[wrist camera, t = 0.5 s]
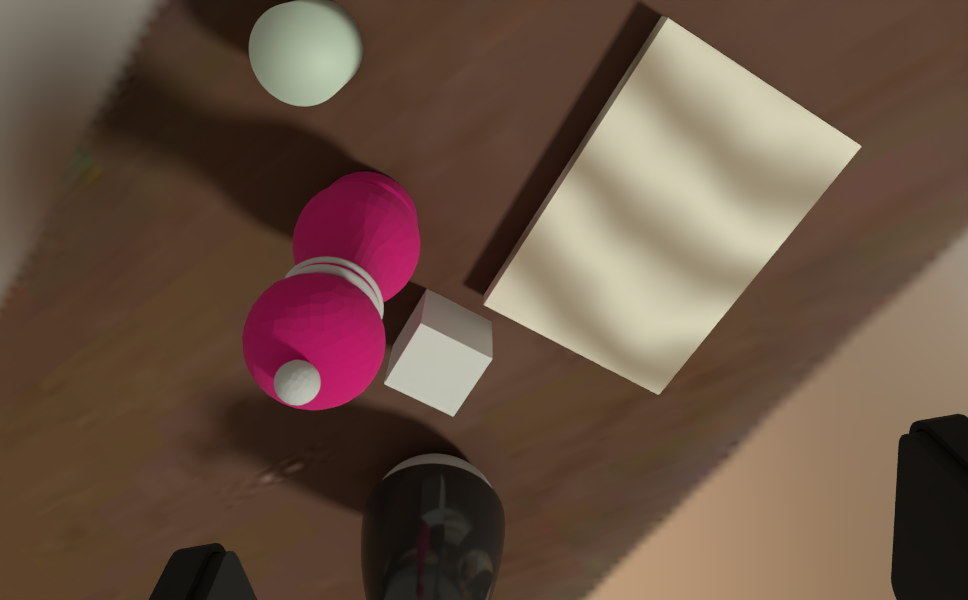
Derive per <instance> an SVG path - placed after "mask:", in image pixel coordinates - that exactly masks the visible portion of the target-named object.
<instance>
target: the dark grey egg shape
mask: <svg viewBox="0 0 968 600" xmlns="http://www.w3.org/2000/svg"><path fill="white" fill-rule="evenodd" d="M504 538H505V515H504V510H503V506H502V503H501V501H500V499H499V497H498V495H497V494H496V492H495V491H494V490H493V489H492V487H491V485H490V483H489V482H488V480H487V479H486V478H485V476H484V475H483V474H482V473H481V472H480V471H479V470H478V469H477V468H475V467H474V466H473V465H471V464H470V463H468V462H466V461H464V460H462V459H460V458H457V457H454V456H451V455H446V454H424V455H419V456H415V457H412V458H410V459H407V460H405V461H403V462H402V463H400V464H398V465H397V466H396V467H394V468H393V469H392V470H391V471H390V472H389V473H388V474H387V475H386V476H385V477H384V478H383V479H382V481H380V482H379V483H378V484H377V485H376V487H375V488H374V489H373V490H372V492H371V493H370V495H369V497H368V499H367V502H366V505H365V508H364V513H363V519H362V528H361V567H362V577H363V585H364V591H365V596H366V600H491V597H492V594H493V591H494V588H495V585H496V581H497V577H498V573H499V569H500V564H501V559H502V553H503V546H504Z"/></svg>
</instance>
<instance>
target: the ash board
mask: <svg viewBox="0 0 968 600" xmlns="http://www.w3.org/2000/svg"><path fill="white" fill-rule="evenodd" d="M860 147H861V146H860V145H859V144H857V143H856V142H854V141H853V140H851V139H850V138H848V137H847V136H845V135H844V134H842V133H841V132H839V131H838V130H836V129H835V128H833V127H832V126H830V125H829V124H827V123H826V122H824V121H823V120H821V119H820V118H818V117H817V116H815V115H814V114H812V113H811V112H809V111H808V110H806V109H805V108H803V107H802V106H800V105H799V104H797V103H796V102H794V101H793V100H791V99H790V98H788V97H787V96H785V95H783V94H782V93H780V92H779V91H777V90H776V89H774V88H773V87H771V86H770V85H768V84H767V83H765V82H764V81H762V80H761V79H759V78H758V77H756V76H755V75H753V74H752V73H750V72H749V71H747V70H746V69H744V68H743V67H741V66H740V65H738V64H737V63H735V62H734V61H732V60H731V59H729V58H728V57H726V56H725V55H723V54H722V53H720V52H719V51H717V50H716V49H714V48H713V47H711V46H710V45H708V44H707V43H705V42H704V41H702V40H701V39H699V38H698V37H696V36H695V35H693V34H692V33H690V32H689V31H687V30H685V29H684V28H682V27H681V26H679V25H678V24H676V23H675V22H673V21H672V20H670V19H669V18H667V17H664V16H661V18H660V19H659V21H658V22H657V24H656V26H655V27H654V29H653V30H652V32H651V33H650V35H649V37H648V38H647V40H646V41H645V43H644V44H643V46H642V47H641V49H640V51H639V52H638V54H637V55H636V57H635V58H634V60H633V62H632V63H631V65H630V66H629V68H628V69H627V71H626V73H625V74H624V76H623V77H622V79H621V80H620V82H619V84H618V85H617V87H616V88H615V90H614V91H613V93H612V94H611V96H610V98H609V99H608V101H607V102H606V104H605V105H604V107H603V109H602V110H601V112H600V113H599V115H598V116H597V118H596V120H595V121H594V123H593V124H592V126H591V127H590V129H589V131H588V132H587V134H586V135H585V137H584V138H583V140H582V141H581V143H580V145H579V146H578V148H577V149H576V151H575V152H574V154H573V156H572V157H571V159H570V160H569V162H568V163H567V165H566V167H565V168H564V170H563V171H562V173H561V174H560V176H559V178H558V179H557V181H556V182H555V184H554V185H553V187H552V188H551V190H550V192H549V193H548V195H547V196H546V198H545V199H544V201H543V203H542V204H541V206H540V207H539V209H538V210H537V212H536V214H535V215H534V217H533V218H532V220H531V221H530V223H529V225H528V226H527V228H526V229H525V231H524V232H523V234H522V236H521V237H520V239H519V240H518V242H517V243H516V245H515V246H514V248H513V250H512V251H511V253H510V254H509V256H508V257H507V259H506V261H505V262H504V264H503V265H502V267H501V268H500V270H499V272H498V273H497V275H496V276H495V278H494V279H493V281H492V283H491V284H490V286H489V287H488V289H487V290H486V292H485V293H484V305H485V306H487V307H489V308H491V309H493V310H495V311H497V312H498V313H500V314H502V315H504V316H506V317H508V318H510V319H512V320H514V321H516V322H518V323H520V324H522V325H524V326H526V327H528V328H530V329H531V330H533V331H535V332H537V333H539V334H541V335H543V336H545V337H547V338H549V339H551V340H553V341H555V342H557V343H559V344H561V345H563V346H564V347H566V348H568V349H570V350H572V351H574V352H576V353H578V354H580V355H582V356H584V357H586V358H588V359H590V360H592V361H594V362H596V363H597V364H599V365H601V366H603V367H605V368H607V369H609V370H611V371H613V372H615V373H617V374H619V375H621V376H623V377H625V378H627V379H629V380H631V381H632V382H634V383H636V384H638V385H640V386H642V387H644V388H646V389H648V390H650V391H652V392H654V393H656V394H658V395H659V394H660V393H661V392H662V390H663V389H664V388H665V387H666V385H667V384H668V383H669V382H670V381H671V379H672V378H673V377H674V376H675V374H676V373H677V372H678V371H679V369H680V368H681V367H682V366H683V365H684V363H685V362H686V361H687V360H688V358H689V357H690V356H691V355H692V354H693V352H694V351H695V350H696V349H697V347H698V346H699V345H700V344H701V343H702V341H703V340H704V339H705V338H706V336H707V335H708V334H709V333H710V331H711V330H712V329H713V328H714V327H715V325H716V324H717V323H718V322H719V320H720V319H721V318H722V317H723V316H724V314H725V313H726V312H727V311H728V309H729V308H730V307H731V306H732V304H733V303H734V302H735V301H736V300H737V298H738V297H739V296H740V295H741V293H742V292H743V291H744V290H745V289H746V287H747V286H748V285H749V284H750V282H751V281H752V280H753V279H754V278H755V276H756V275H757V274H758V273H759V271H760V270H761V269H762V268H763V266H764V265H765V264H766V263H767V262H768V260H769V259H770V258H771V257H772V255H773V254H774V253H775V252H776V251H777V249H778V248H779V247H780V246H781V244H782V243H783V242H784V241H785V239H786V238H787V237H788V236H789V235H790V233H791V232H792V231H793V230H794V228H795V227H796V226H797V225H798V224H799V222H800V221H801V220H802V219H803V217H804V216H805V215H806V214H807V213H808V211H809V210H810V209H811V208H812V206H813V205H814V204H815V203H816V201H817V200H818V199H819V198H820V197H821V195H822V194H823V193H824V192H825V190H826V189H827V188H828V187H829V186H830V184H831V183H832V182H833V181H834V179H835V178H836V177H837V176H838V174H839V173H840V172H841V171H842V170H843V168H844V167H845V166H846V165H847V163H848V162H849V161H850V160H851V159H852V157H853V156H854V155H855V154H856V152H857V151H858V150H859V149H860Z"/></svg>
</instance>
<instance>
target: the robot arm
mask: <svg viewBox="0 0 968 600" xmlns="http://www.w3.org/2000/svg"><path fill="white" fill-rule="evenodd" d="M898 448H899V449H898V465H897V484H896V501H895V519H894V537H893V554H892V572H891V583H892V587H893V591H894V594H895V597H896V599H897V600H968V417H966V416H965V415H961V414H954V415H949V416H943V417H937V418H931V419H926V420H920V421H916V422H914V423H913V424H912V425H911V427H910V431H909V434H904V435H902V436H901V438H900V440H899V447H898ZM149 600H257V598H256V596H255V594H254V592H253V589H252V587H251V585H250V583H249V581H248V578H247V576H246V574H245V572H244V569H243V567H242V565H241V563H240V560H239V558H238V556H237V555H236V553H234V552H233V551H228V552H226V551H225V549H224V547H223V546H222V545H220V544H219V543H213V544H207V545H201V546H196V547H190V548H184V549H179V550H177V551H176V552H174V553H173V555H172V556H171V558H170V559H169V561H168V563H167V565H166V567H165V569H164V571H163V573H162V575H161V577H160V579H159V581H158V583H157V584H156V586H155V588H154V590H153V592H152V594H151V596H150V598H149Z"/></svg>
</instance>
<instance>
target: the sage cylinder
mask: <svg viewBox="0 0 968 600" xmlns="http://www.w3.org/2000/svg"><path fill="white" fill-rule="evenodd" d="M362 56H363V41H362V36H361V32H360V30H359V27H358V25H357V23H356V22H355V20H354V19H353V17H352V16H351V15H350V14H349V13H348V11H346V10H345V9H344V8H343V7H342V6H340V5H339V4H337V3H335V2H333V1H331V0H296V1H292V2H288V3H283V4H279V5H277V6H274V7H272V8H270V9H269V10H267V11H266V12H265V13H264V14H262V16H261V17H260V18H259V19H258V20H257V22H256V23H255V25H254V27H253V29H252V32H251V35H250V40H249V57H250V62H251V65H252V68H253V71H254V73H255V75H256V77H257V79H258V80H259V82H260V83H261V84H262V86H263V87H264V88H265V89H266V90H267V91H268V92H269V93H270V94H272V95H273V96H274V97H276V98H277V99H279V100H281V101H283V102H285V103H288V104H291V105H296V106H312V105H317V104H319V103H322V102H324V101H326V100H328V99H329V98H331V97H332V96H333V95H334V94H335V93H336V92H337V91H338V90H340V89H341V88H342V87H343V86H344V85H345V84H346V83H347V82H348V81H349V80H350V79H351V78H352V77H353V76H354V75H355V74H356V72H357V70H358V68H359V66H360V64H361V60H362Z"/></svg>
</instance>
